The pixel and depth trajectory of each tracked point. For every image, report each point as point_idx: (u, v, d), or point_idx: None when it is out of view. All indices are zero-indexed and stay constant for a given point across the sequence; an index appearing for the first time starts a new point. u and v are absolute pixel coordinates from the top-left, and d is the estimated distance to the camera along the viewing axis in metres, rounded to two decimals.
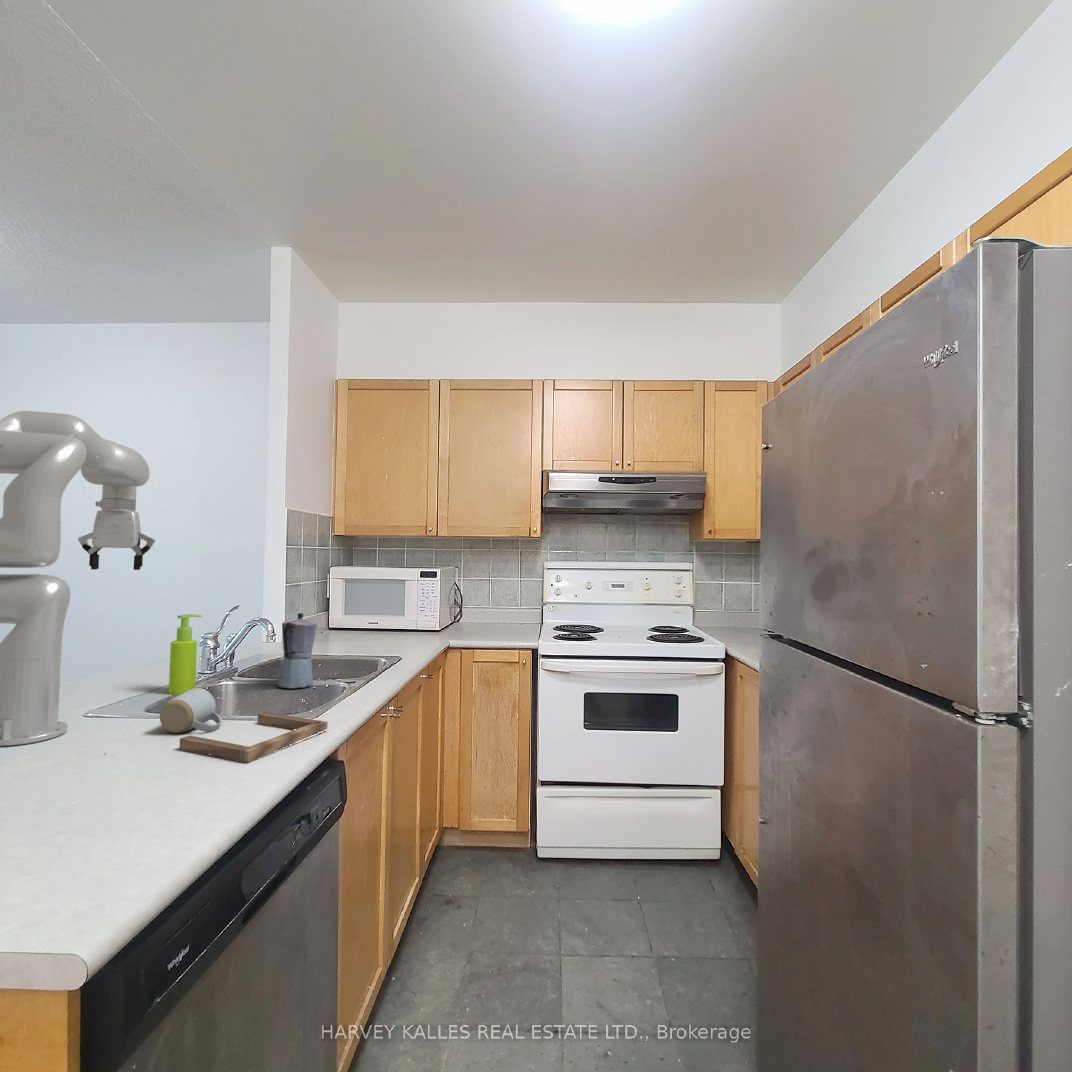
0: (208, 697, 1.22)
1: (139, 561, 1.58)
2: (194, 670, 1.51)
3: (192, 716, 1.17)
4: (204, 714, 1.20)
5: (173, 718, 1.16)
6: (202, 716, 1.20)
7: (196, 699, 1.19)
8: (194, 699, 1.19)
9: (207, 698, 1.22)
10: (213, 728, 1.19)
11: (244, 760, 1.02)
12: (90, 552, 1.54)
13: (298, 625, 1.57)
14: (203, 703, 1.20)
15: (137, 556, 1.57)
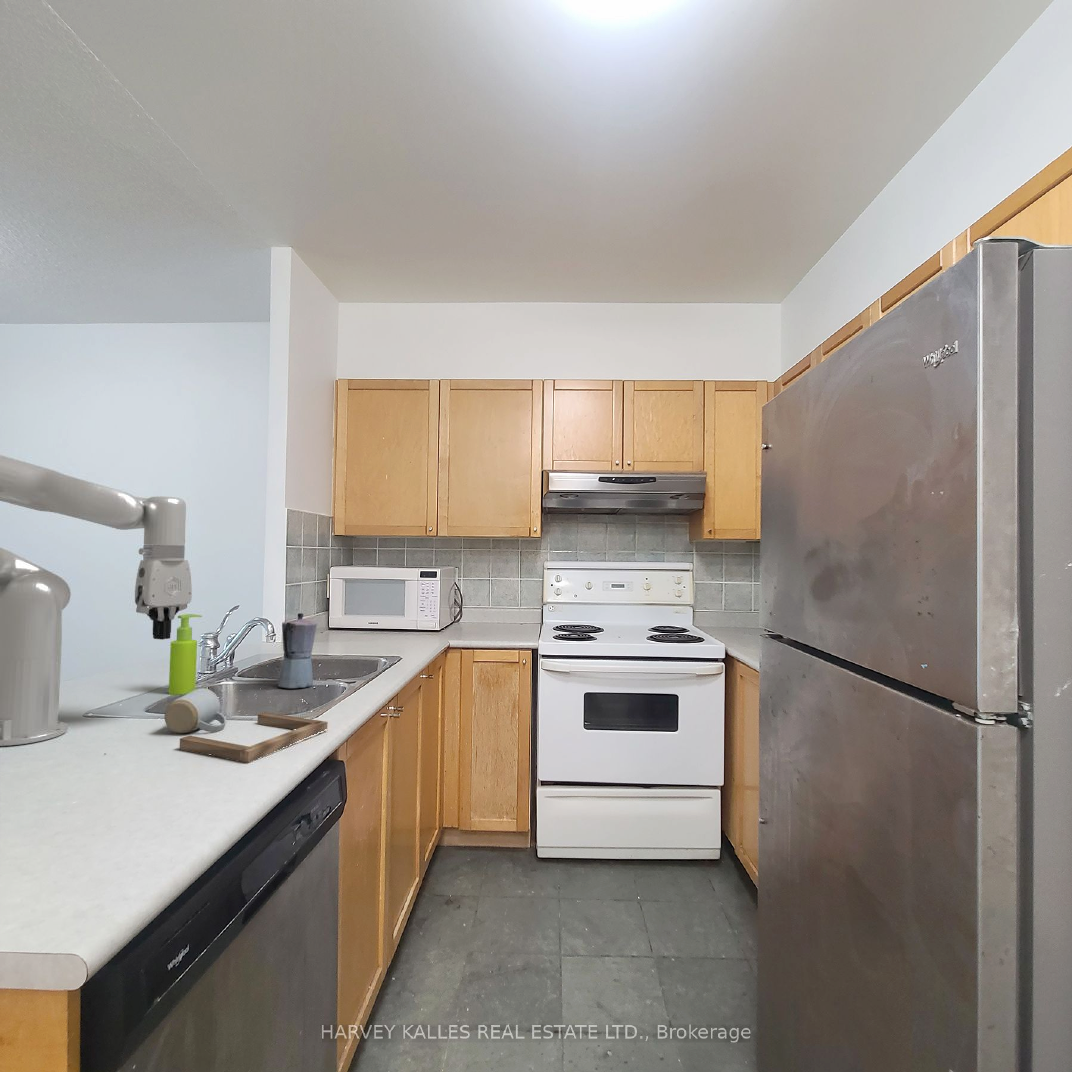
0: (212, 697, 1.22)
1: None
2: (194, 670, 1.51)
3: (197, 717, 1.17)
4: (209, 714, 1.20)
5: (178, 719, 1.16)
6: (207, 716, 1.20)
7: (200, 699, 1.19)
8: (198, 699, 1.19)
9: (211, 699, 1.22)
10: (218, 728, 1.19)
11: (244, 760, 1.02)
12: (161, 618, 1.24)
13: (297, 625, 1.57)
14: (208, 703, 1.20)
15: None
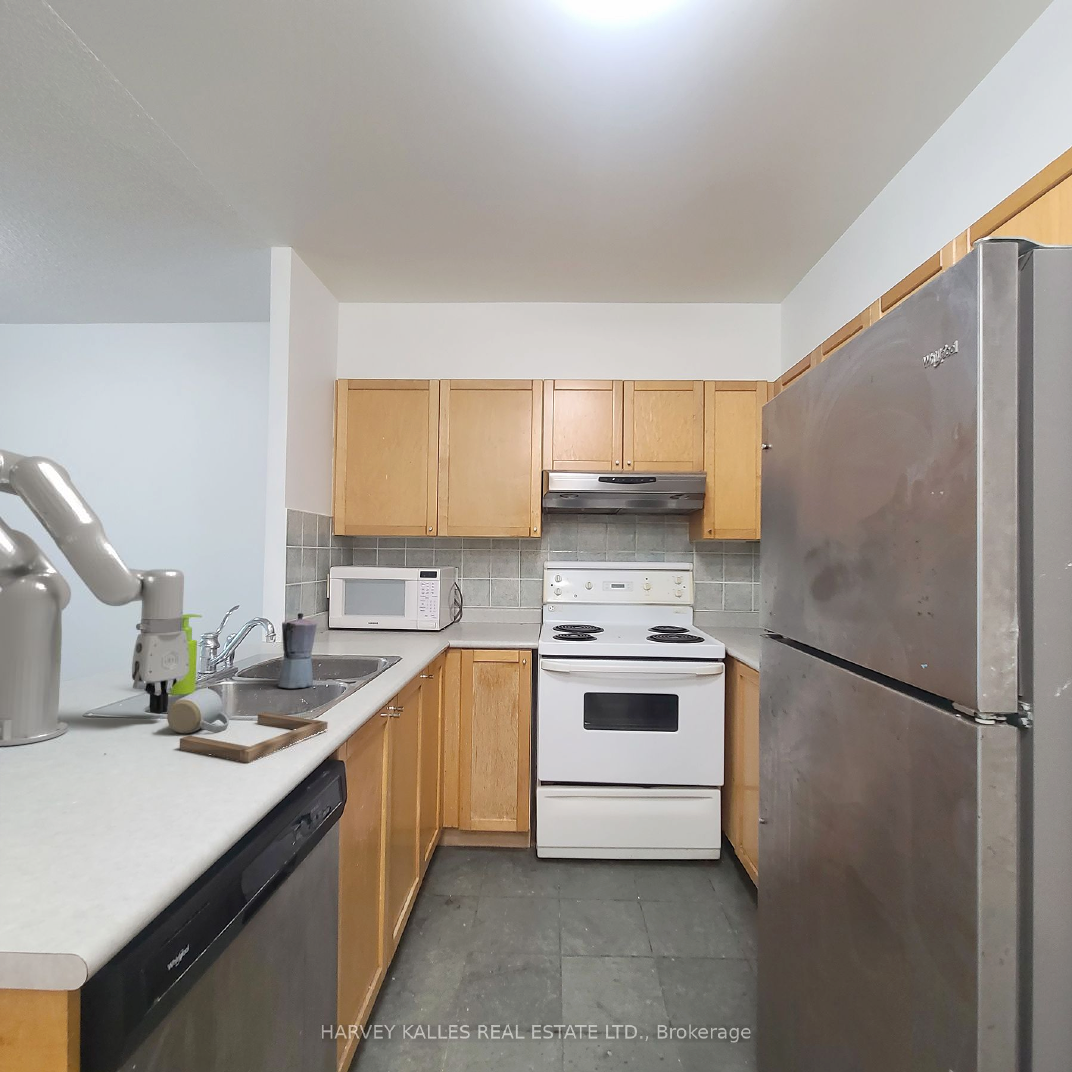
0: (215, 697, 1.22)
1: None
2: (194, 670, 1.51)
3: (199, 717, 1.17)
4: (211, 714, 1.20)
5: (181, 719, 1.16)
6: (209, 716, 1.19)
7: (203, 699, 1.19)
8: (201, 699, 1.19)
9: (214, 699, 1.22)
10: (220, 728, 1.19)
11: (244, 760, 1.02)
12: (158, 692, 1.23)
13: (297, 625, 1.57)
14: (210, 703, 1.20)
15: None
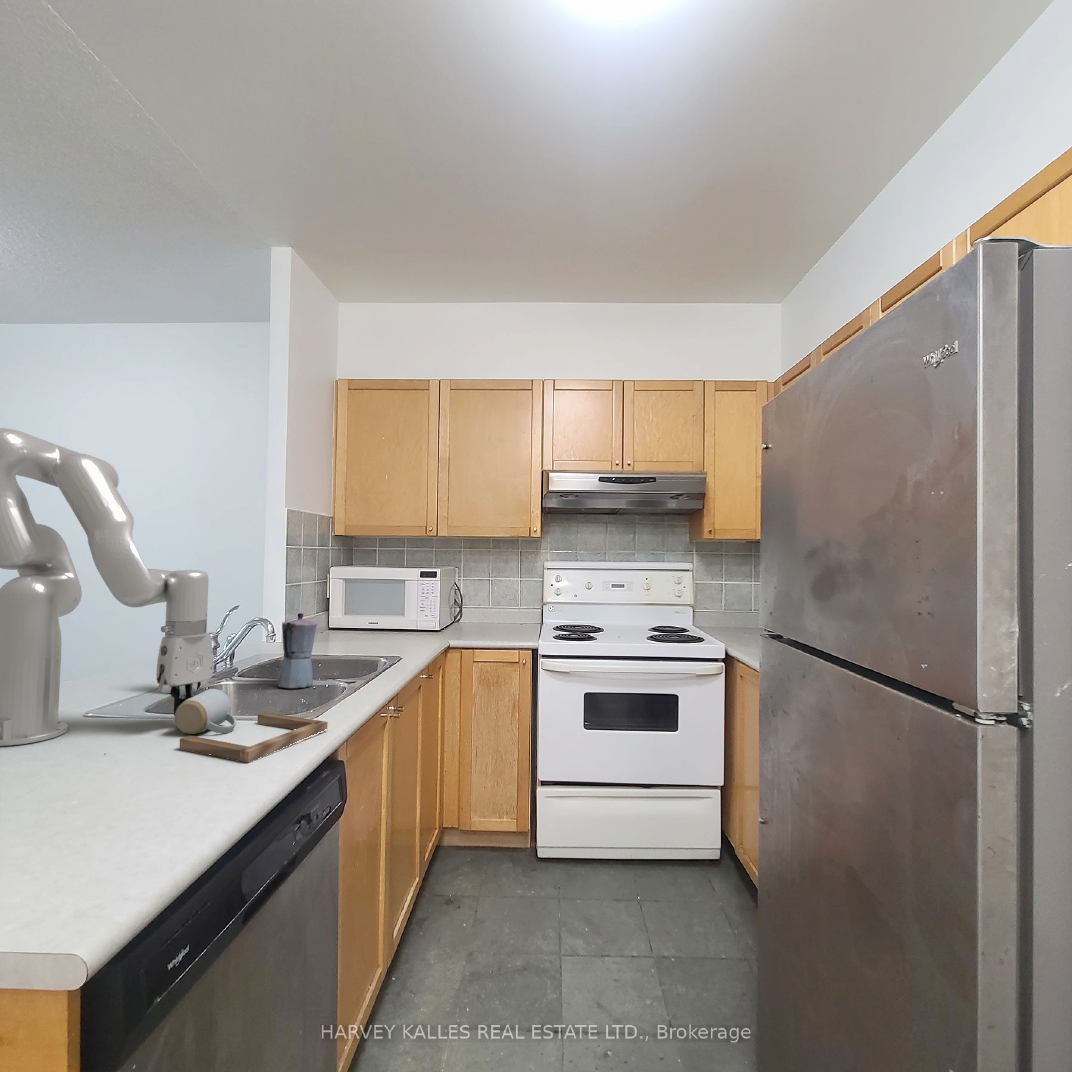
0: (223, 698, 1.21)
1: None
2: None
3: (206, 718, 1.16)
4: (219, 715, 1.19)
5: (188, 719, 1.16)
6: (216, 717, 1.19)
7: (210, 700, 1.18)
8: (208, 700, 1.18)
9: (222, 699, 1.21)
10: (227, 730, 1.18)
11: (244, 760, 1.02)
12: (182, 696, 1.20)
13: (298, 625, 1.57)
14: (218, 704, 1.19)
15: None
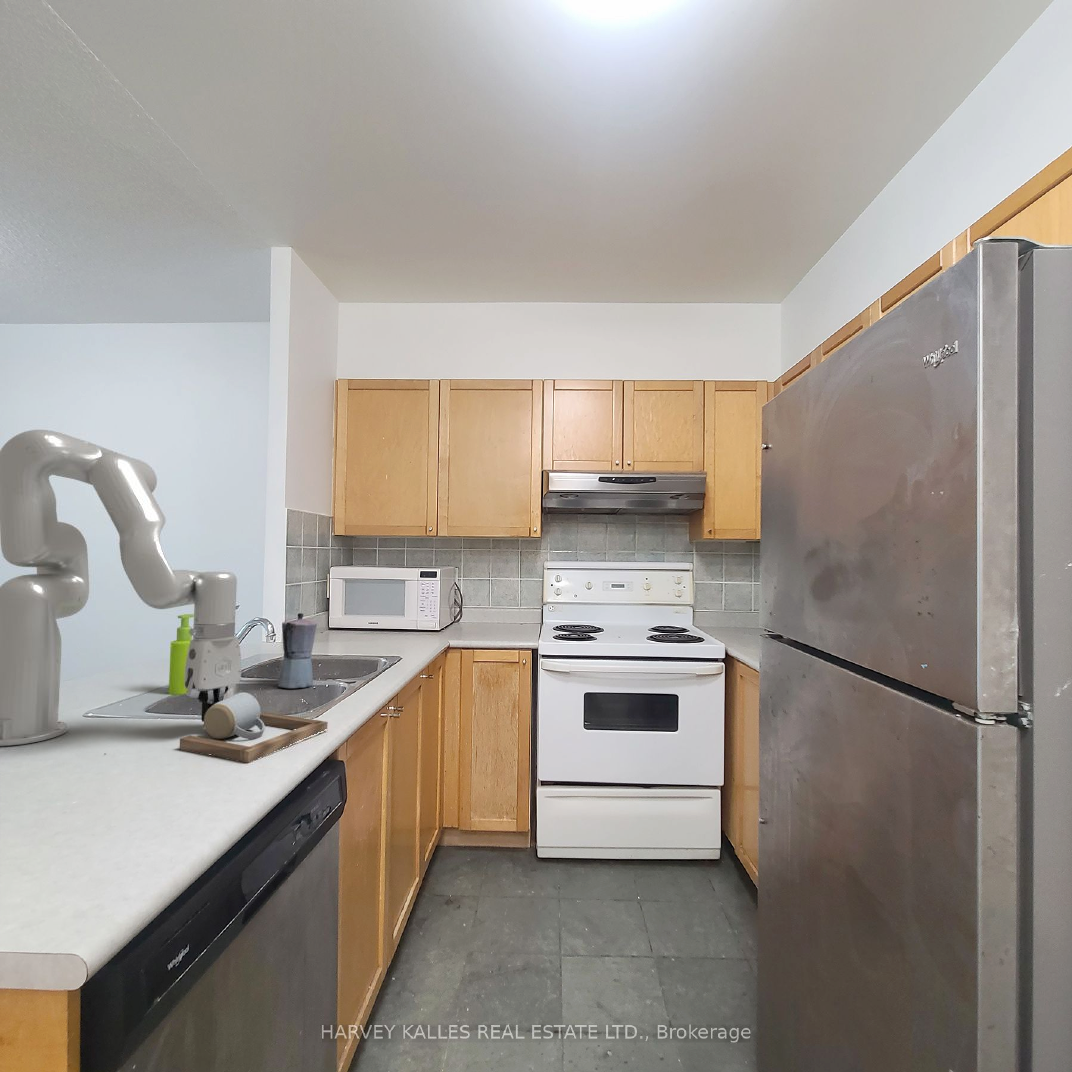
0: (252, 702, 1.19)
1: None
2: None
3: (233, 723, 1.13)
4: (247, 720, 1.16)
5: (216, 724, 1.13)
6: (245, 722, 1.16)
7: (238, 704, 1.16)
8: (237, 704, 1.15)
9: (251, 704, 1.18)
10: (254, 735, 1.14)
11: (244, 760, 1.02)
12: (210, 701, 1.17)
13: (298, 625, 1.57)
14: (246, 709, 1.17)
15: None
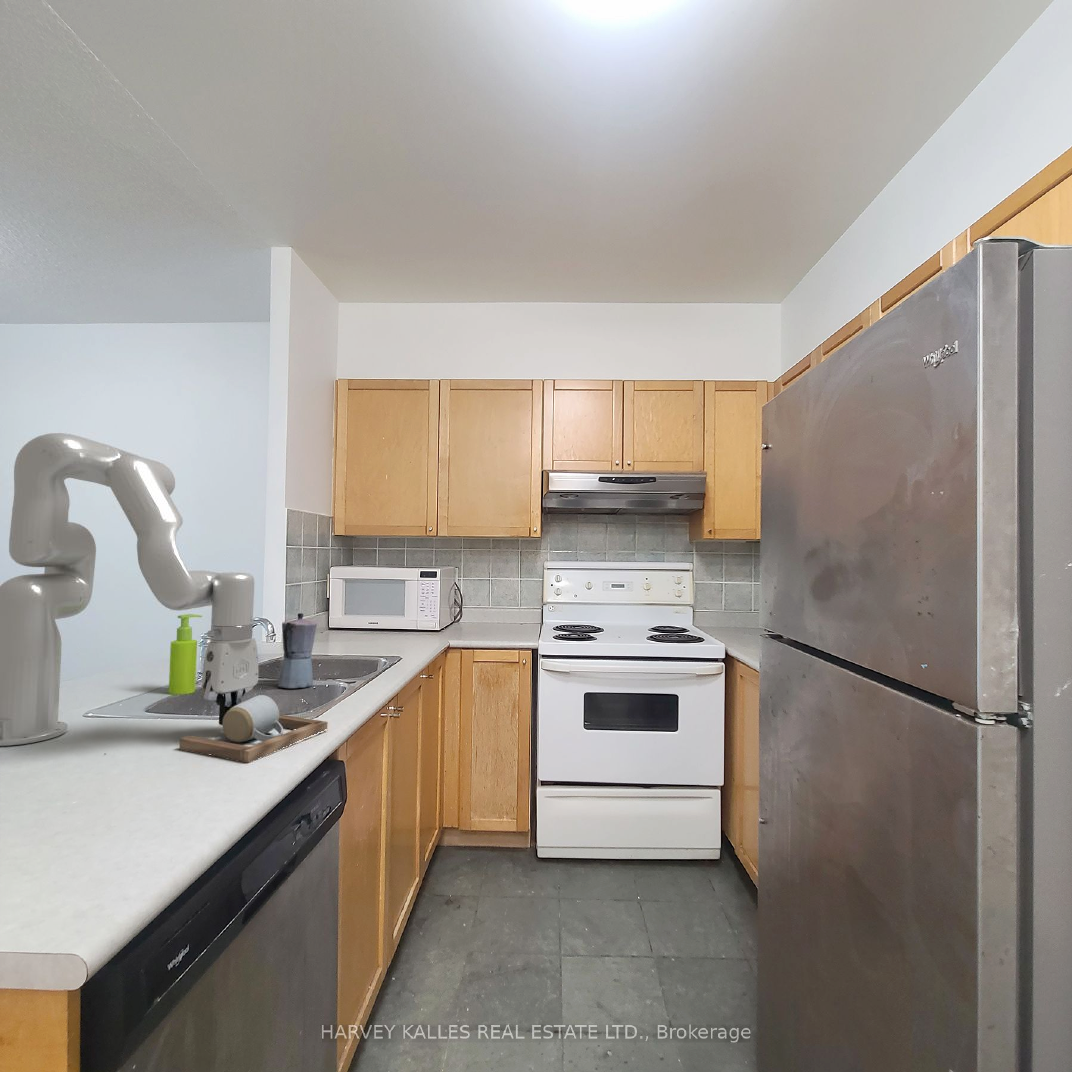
0: (270, 705, 1.17)
1: None
2: (194, 670, 1.51)
3: (252, 726, 1.11)
4: (266, 723, 1.15)
5: (234, 727, 1.12)
6: (263, 725, 1.14)
7: (257, 707, 1.14)
8: (255, 707, 1.14)
9: (269, 707, 1.16)
10: None
11: (244, 760, 1.02)
12: (228, 704, 1.16)
13: (298, 625, 1.57)
14: (265, 712, 1.15)
15: None
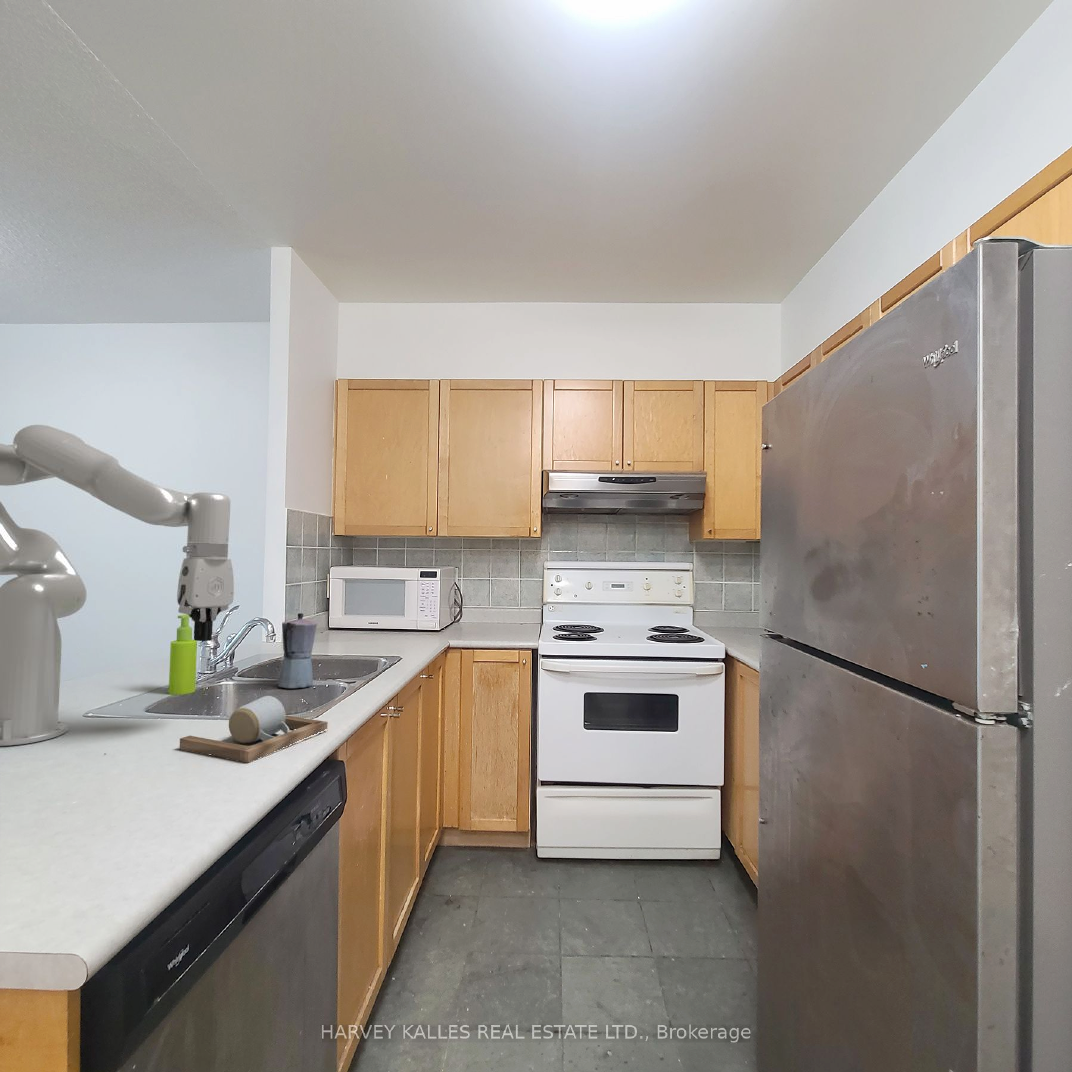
0: (277, 706, 1.16)
1: None
2: (194, 670, 1.51)
3: (258, 727, 1.11)
4: (272, 724, 1.14)
5: (240, 728, 1.11)
6: (269, 727, 1.14)
7: (263, 708, 1.14)
8: (261, 708, 1.13)
9: (276, 708, 1.16)
10: None
11: (244, 760, 1.02)
12: (203, 619, 1.19)
13: (298, 625, 1.57)
14: (271, 713, 1.14)
15: None
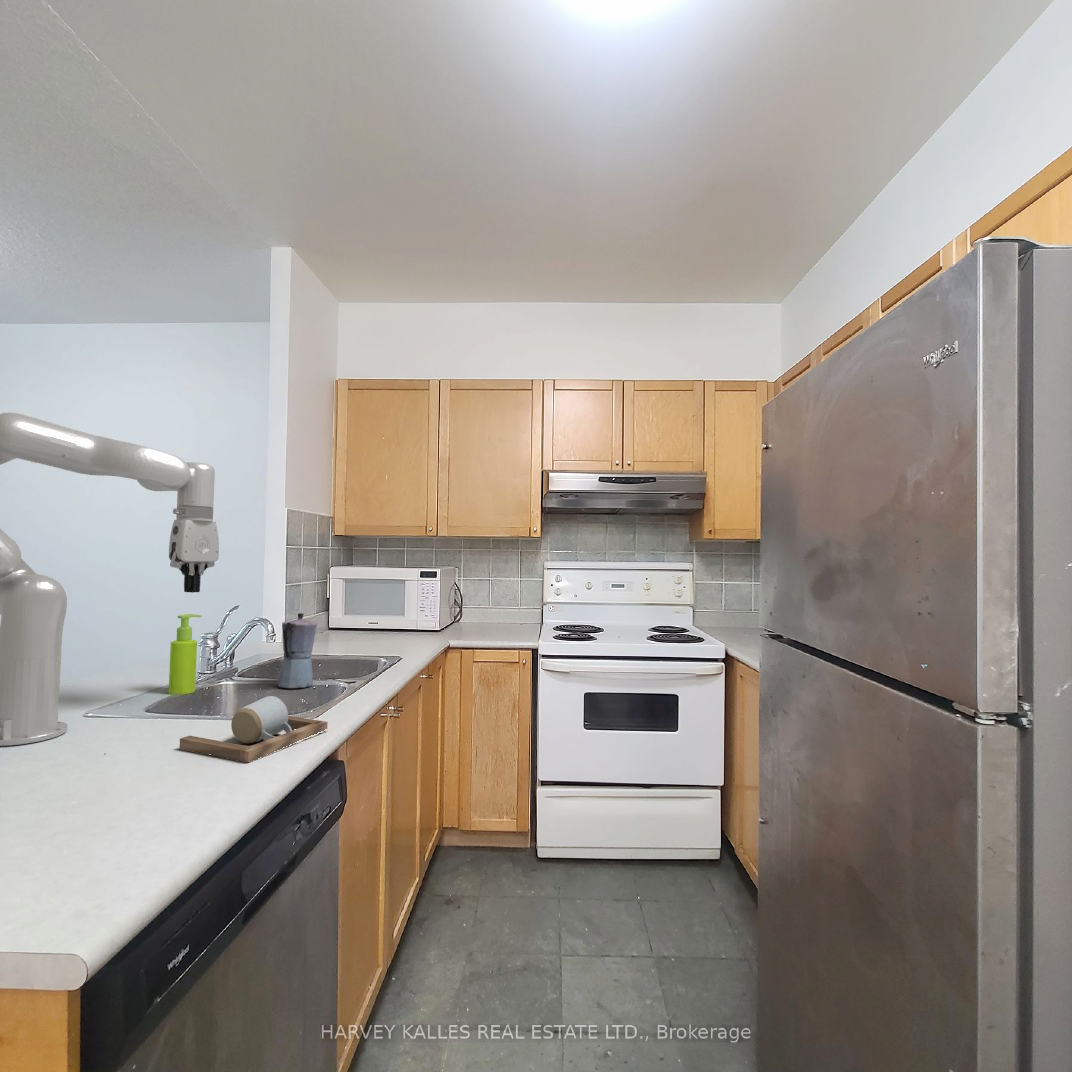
0: (279, 706, 1.16)
1: None
2: (194, 670, 1.51)
3: (260, 727, 1.11)
4: (274, 725, 1.14)
5: (243, 728, 1.11)
6: (272, 727, 1.13)
7: (266, 708, 1.13)
8: (264, 708, 1.13)
9: (278, 708, 1.16)
10: None
11: (244, 760, 1.02)
12: (191, 573, 1.36)
13: (298, 625, 1.57)
14: (274, 713, 1.14)
15: None
